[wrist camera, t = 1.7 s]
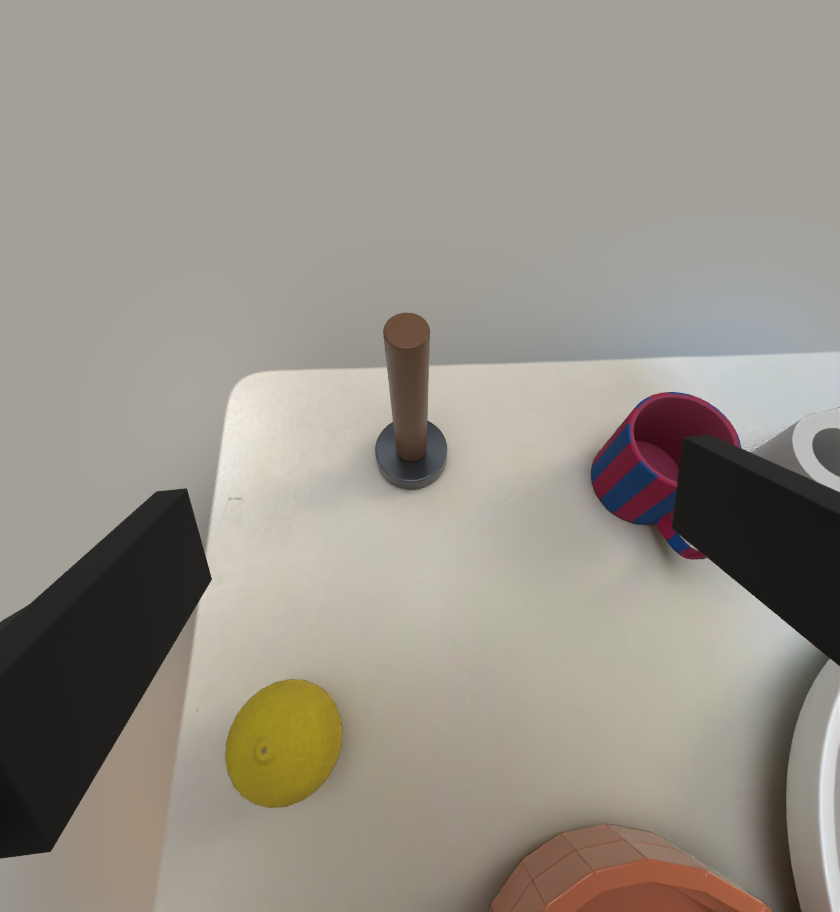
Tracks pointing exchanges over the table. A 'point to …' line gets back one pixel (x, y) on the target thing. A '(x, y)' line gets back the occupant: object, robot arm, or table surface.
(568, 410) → the table surface
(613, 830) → the mixing bowl
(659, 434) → the mug
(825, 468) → the angled bracket with hole
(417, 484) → the brown rod
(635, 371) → the table surface
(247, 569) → the table surface
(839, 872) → the bowl
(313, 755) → the lemon
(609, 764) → the table surface
